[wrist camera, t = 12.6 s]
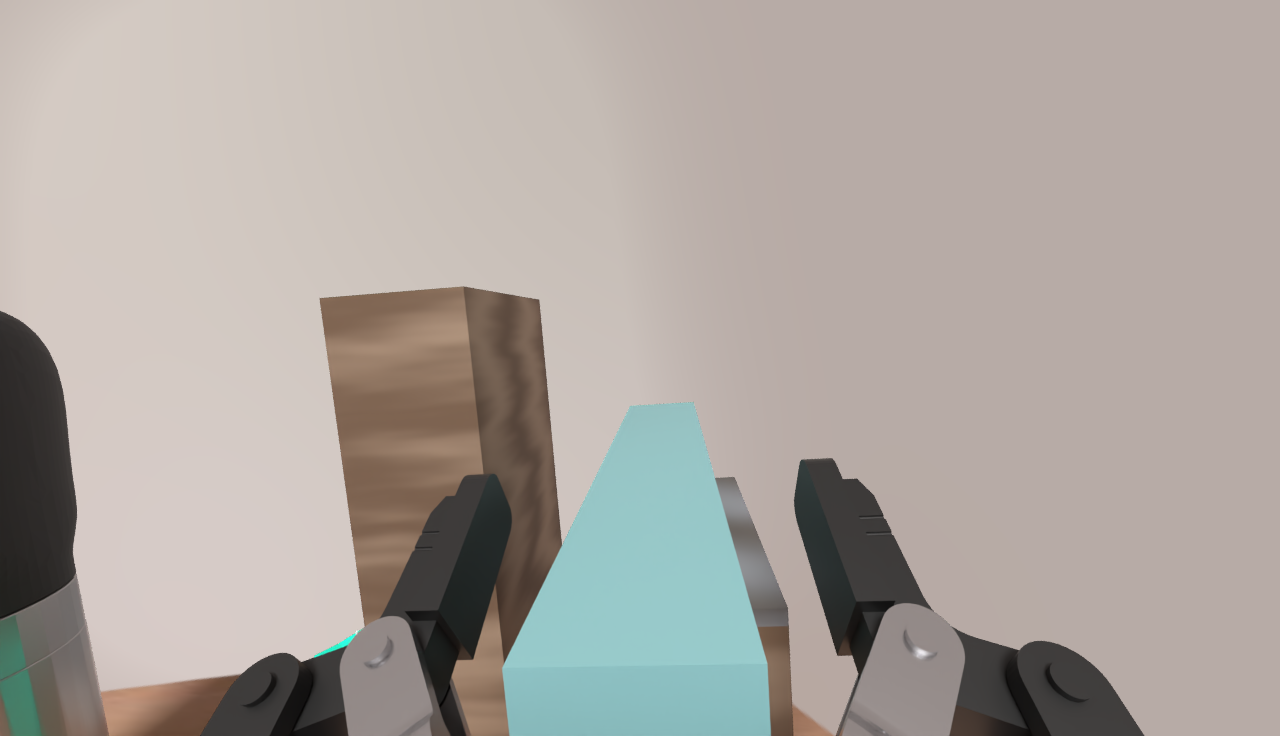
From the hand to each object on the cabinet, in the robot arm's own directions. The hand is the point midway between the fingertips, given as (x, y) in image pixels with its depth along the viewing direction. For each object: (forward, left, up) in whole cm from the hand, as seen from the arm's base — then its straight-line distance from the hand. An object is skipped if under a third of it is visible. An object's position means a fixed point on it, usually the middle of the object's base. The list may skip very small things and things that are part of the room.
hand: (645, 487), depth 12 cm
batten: (-3, +5, -5) cm, 7 cm away
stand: (-18, +7, -25) cm, 32 cm away
